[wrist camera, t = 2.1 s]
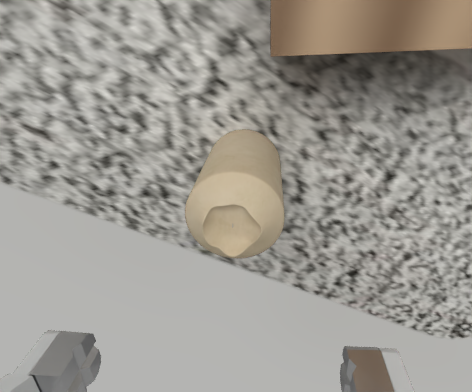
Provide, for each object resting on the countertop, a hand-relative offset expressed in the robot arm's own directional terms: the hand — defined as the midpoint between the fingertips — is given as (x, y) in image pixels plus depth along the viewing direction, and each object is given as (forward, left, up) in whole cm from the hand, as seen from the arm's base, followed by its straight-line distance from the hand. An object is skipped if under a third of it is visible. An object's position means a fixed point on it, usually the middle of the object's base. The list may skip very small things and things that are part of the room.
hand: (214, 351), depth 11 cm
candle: (0, 0, -17) cm, 17 cm away
